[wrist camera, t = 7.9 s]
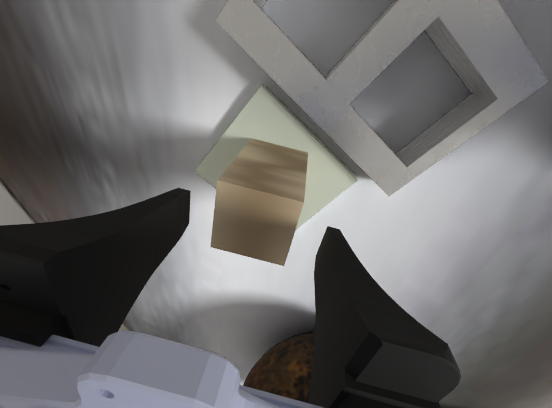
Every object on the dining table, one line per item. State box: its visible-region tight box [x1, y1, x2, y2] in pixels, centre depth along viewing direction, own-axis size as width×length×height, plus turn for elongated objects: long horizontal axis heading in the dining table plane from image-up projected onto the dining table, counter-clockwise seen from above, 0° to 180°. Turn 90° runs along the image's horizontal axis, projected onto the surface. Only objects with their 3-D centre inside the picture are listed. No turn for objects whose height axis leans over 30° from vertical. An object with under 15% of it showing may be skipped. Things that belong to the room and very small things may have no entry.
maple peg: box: [211, 138, 308, 266], centre depth 15 cm, size 4×4×7 cm
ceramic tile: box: [195, 85, 357, 229], centre depth 19 cm, size 9×8×1 cm
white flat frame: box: [215, 0, 549, 196], centre depth 14 cm, size 14×9×2 cm, turn 48°
